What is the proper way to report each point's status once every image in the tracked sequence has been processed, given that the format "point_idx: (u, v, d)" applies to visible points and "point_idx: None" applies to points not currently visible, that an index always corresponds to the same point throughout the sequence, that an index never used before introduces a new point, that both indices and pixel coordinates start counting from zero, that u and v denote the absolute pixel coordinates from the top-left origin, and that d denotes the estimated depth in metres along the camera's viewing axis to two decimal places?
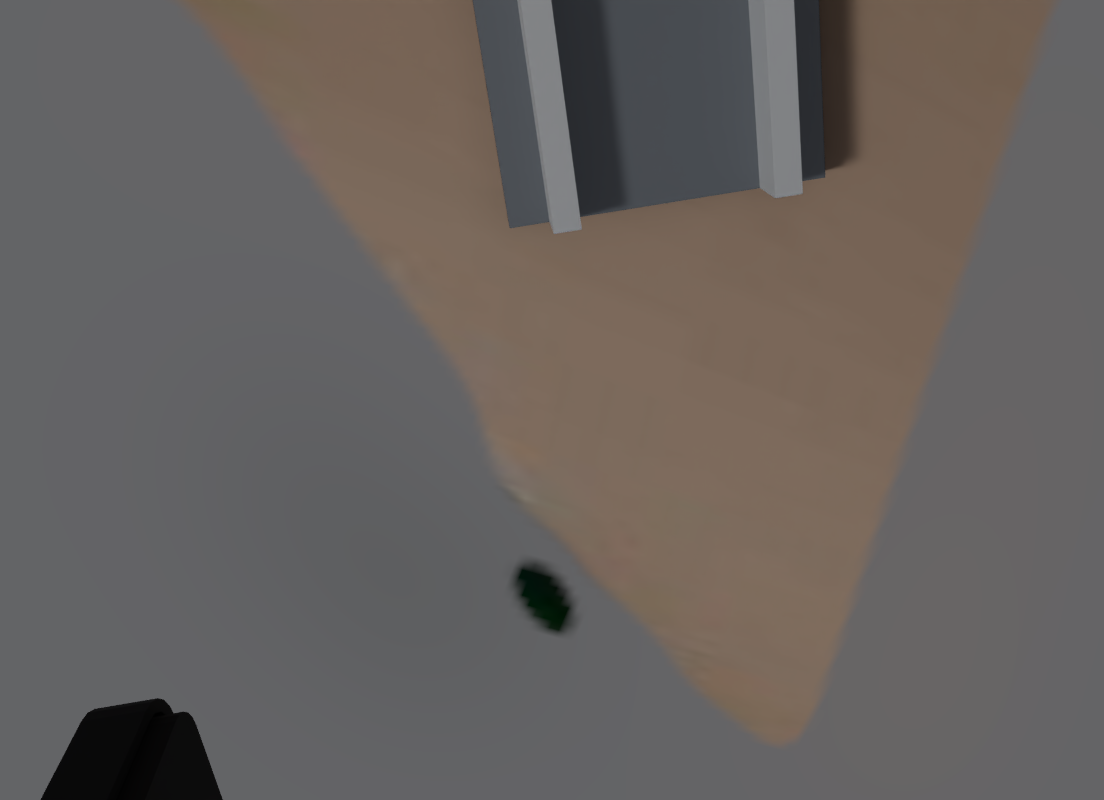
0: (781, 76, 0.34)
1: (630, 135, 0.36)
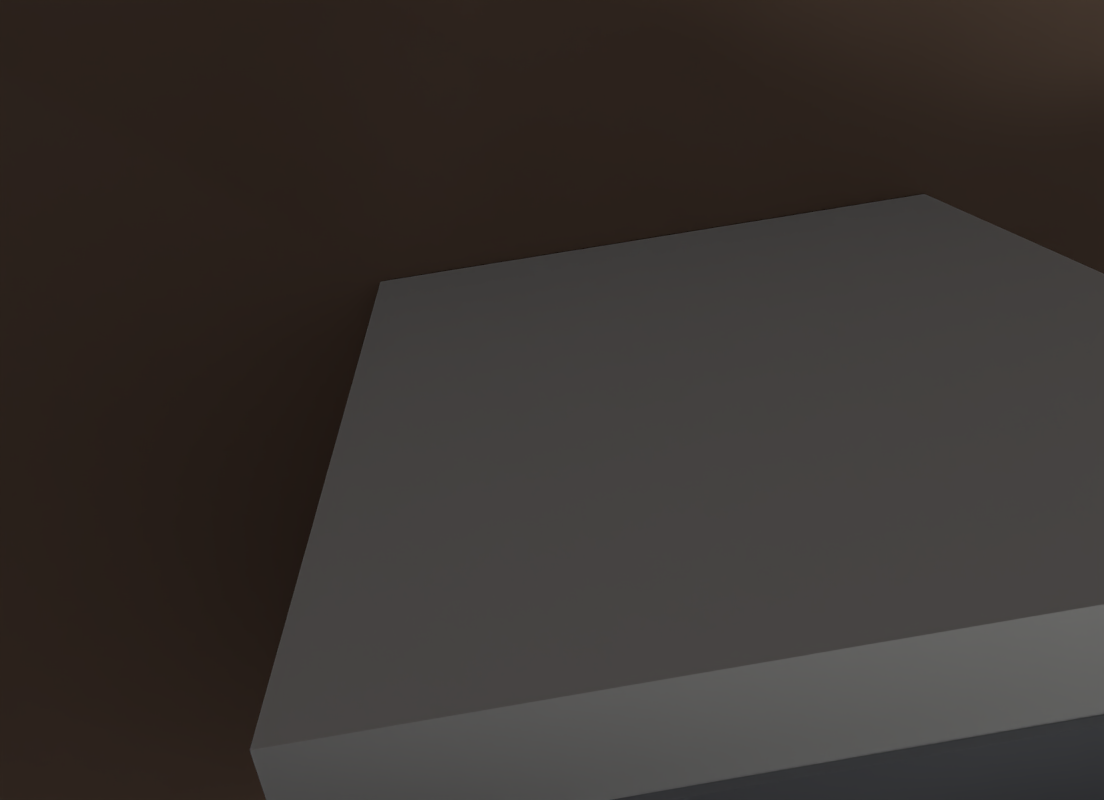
0: None
1: None
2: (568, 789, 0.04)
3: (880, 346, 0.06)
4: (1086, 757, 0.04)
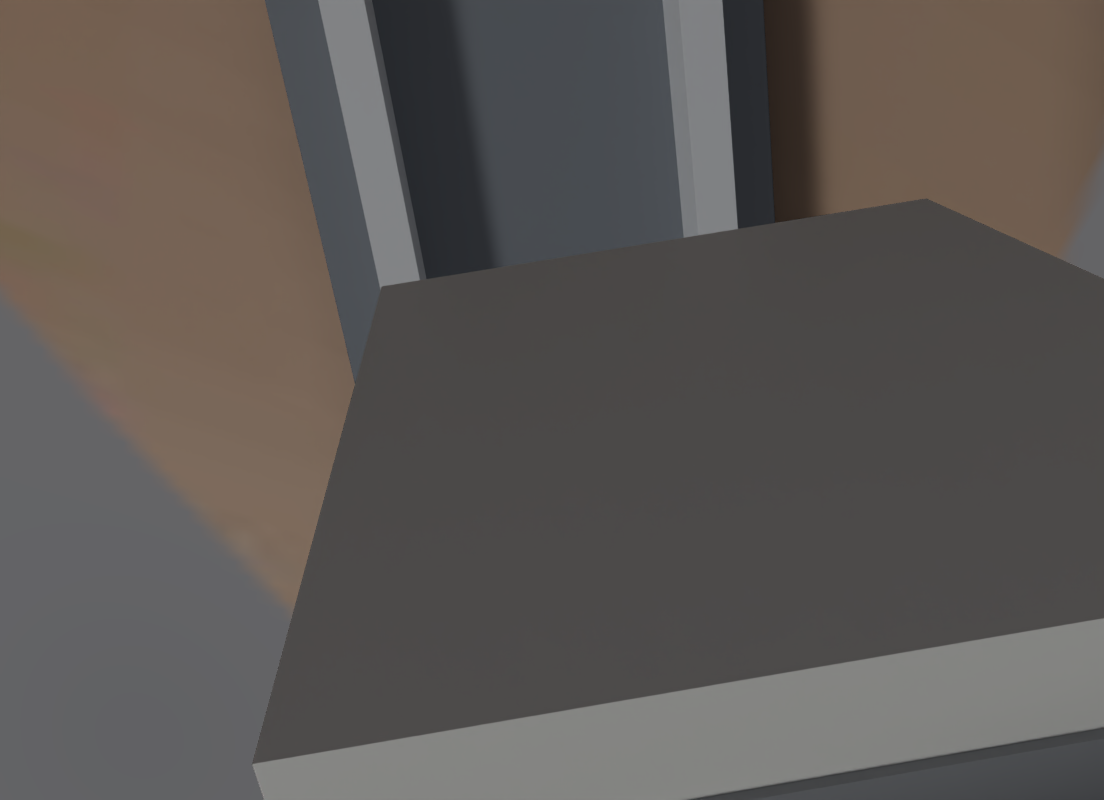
0: None
1: None
2: None
3: (884, 354, 0.06)
4: (1092, 769, 0.04)
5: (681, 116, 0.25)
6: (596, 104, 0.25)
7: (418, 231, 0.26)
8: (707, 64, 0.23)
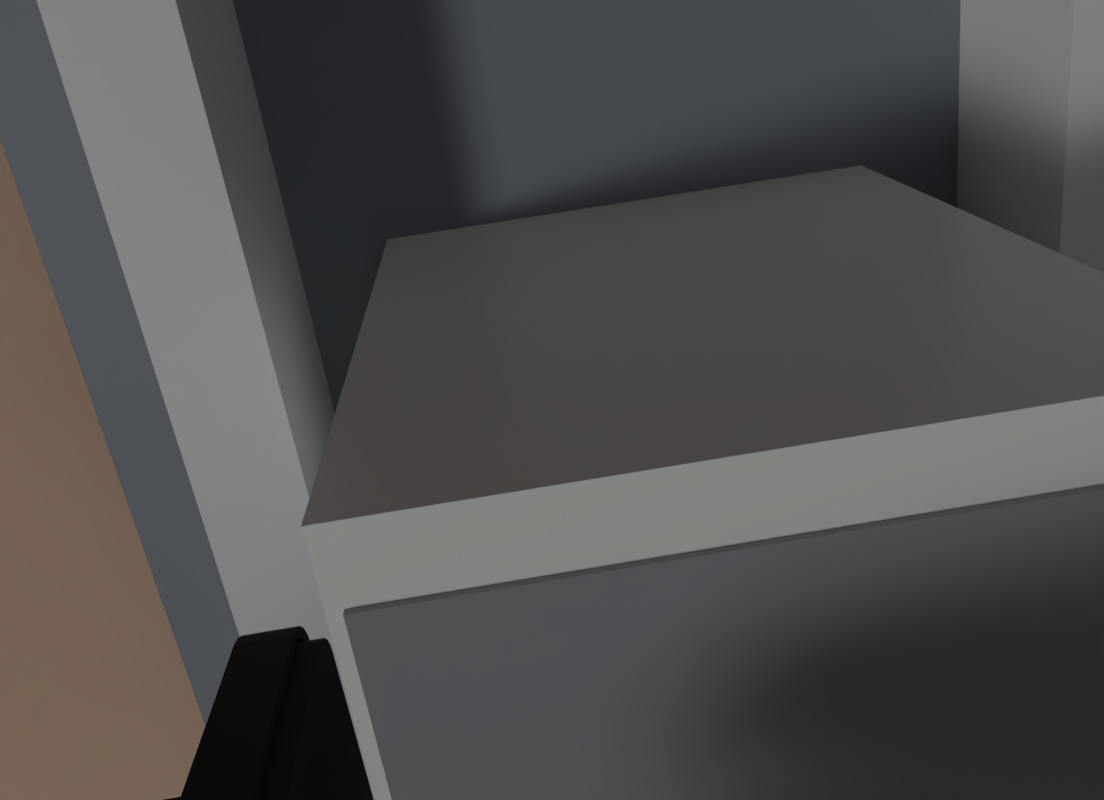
0: None
1: None
2: (532, 563, 0.05)
3: (797, 275, 0.07)
4: (916, 549, 0.05)
5: None
6: None
7: None
8: None
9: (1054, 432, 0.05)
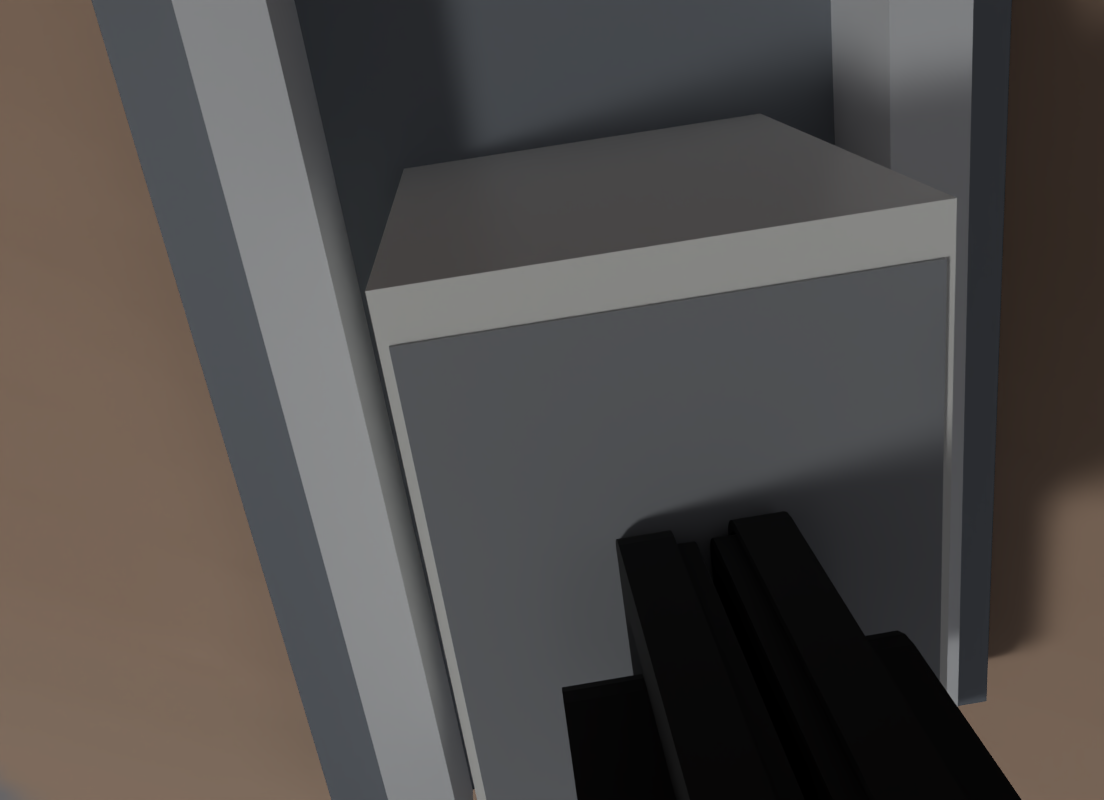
0: None
1: None
2: (499, 318, 0.08)
3: (687, 174, 0.11)
4: (731, 313, 0.09)
5: None
6: None
7: (386, 400, 0.15)
8: (935, 118, 0.12)
9: (807, 240, 0.08)
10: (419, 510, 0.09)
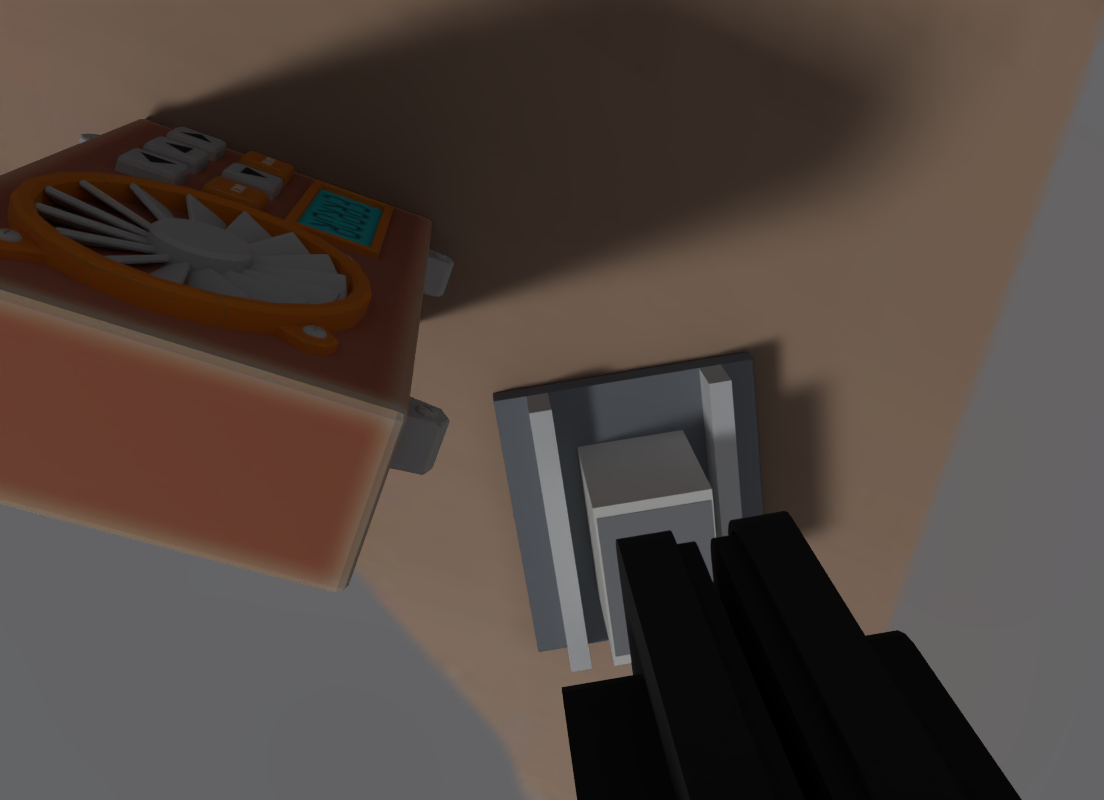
0: None
1: None
2: (619, 512, 0.41)
3: (659, 467, 0.44)
4: (666, 511, 0.42)
5: (712, 461, 0.46)
6: None
7: (567, 512, 0.48)
8: (726, 443, 0.45)
9: (682, 497, 0.41)
10: (599, 551, 0.42)
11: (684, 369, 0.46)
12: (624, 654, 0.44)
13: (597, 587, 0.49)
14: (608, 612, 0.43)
